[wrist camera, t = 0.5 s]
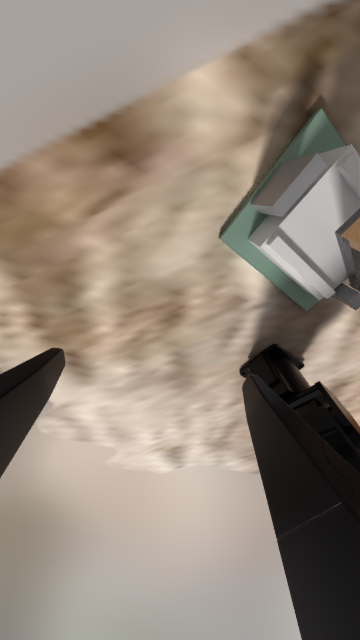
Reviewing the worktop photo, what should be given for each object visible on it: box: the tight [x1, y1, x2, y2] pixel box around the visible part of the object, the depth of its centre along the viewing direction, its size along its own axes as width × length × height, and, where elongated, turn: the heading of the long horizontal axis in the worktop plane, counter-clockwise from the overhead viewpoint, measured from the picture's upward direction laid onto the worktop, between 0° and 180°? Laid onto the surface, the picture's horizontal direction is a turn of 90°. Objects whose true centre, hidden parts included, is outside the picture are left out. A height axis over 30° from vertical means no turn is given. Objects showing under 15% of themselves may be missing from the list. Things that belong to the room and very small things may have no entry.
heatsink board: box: [219, 108, 360, 311], centre depth 15 cm, size 13×10×5 cm
